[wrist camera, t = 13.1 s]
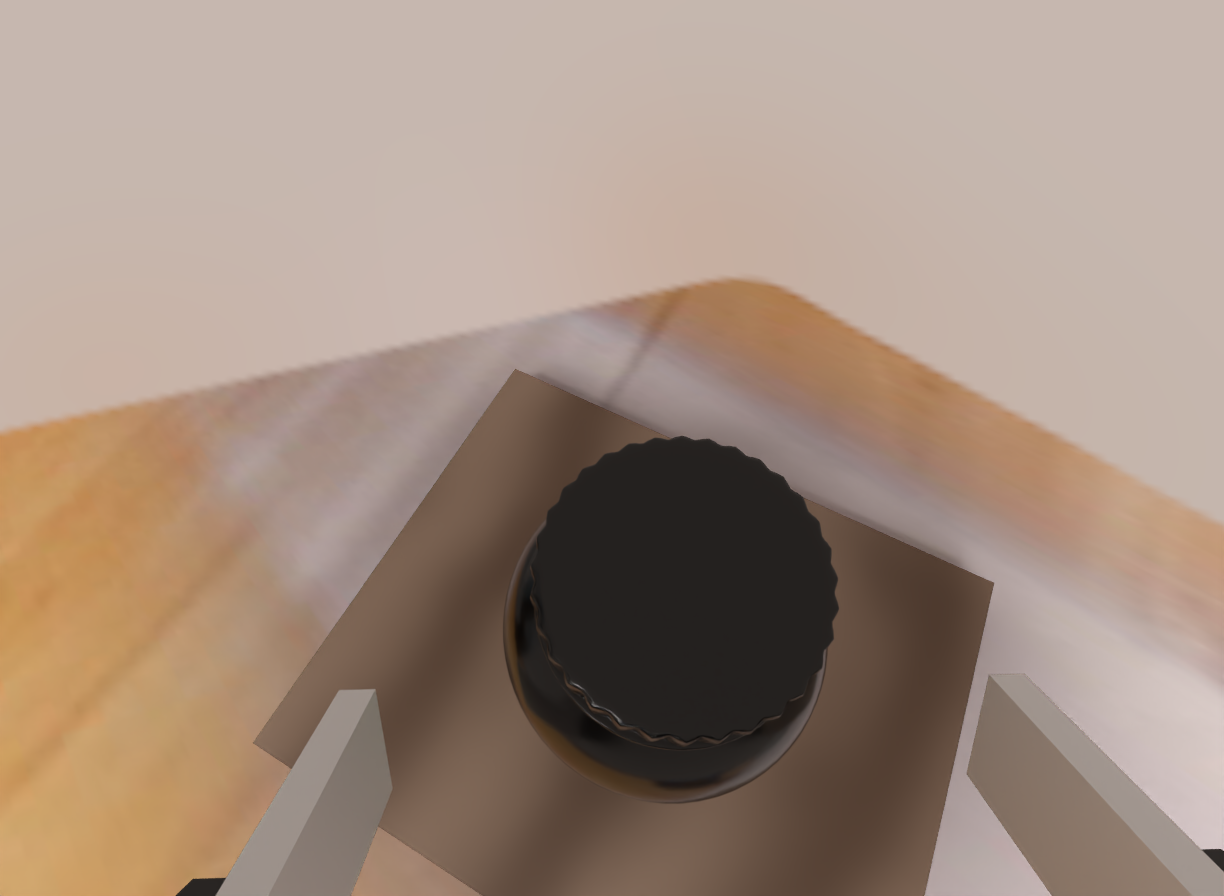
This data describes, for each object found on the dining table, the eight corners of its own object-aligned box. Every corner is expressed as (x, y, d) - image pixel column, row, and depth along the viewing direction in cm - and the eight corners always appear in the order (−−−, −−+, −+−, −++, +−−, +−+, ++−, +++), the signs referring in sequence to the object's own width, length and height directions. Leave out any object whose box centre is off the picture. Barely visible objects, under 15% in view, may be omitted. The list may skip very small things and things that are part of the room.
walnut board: (284, 742, 20) (252, 742, 19) (521, 393, 27) (515, 368, 25) (839, 1106, 16) (866, 1151, 15) (963, 595, 23) (993, 582, 21)
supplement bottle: (510, 731, 19) (376, 722, 8) (584, 537, 22) (558, 340, 11) (717, 813, 18) (879, 928, 7) (766, 598, 21) (934, 448, 10)
